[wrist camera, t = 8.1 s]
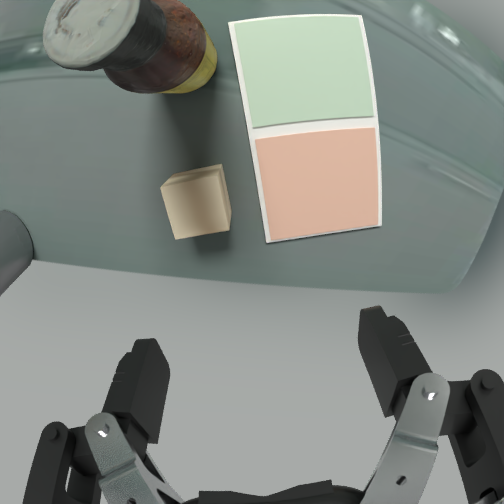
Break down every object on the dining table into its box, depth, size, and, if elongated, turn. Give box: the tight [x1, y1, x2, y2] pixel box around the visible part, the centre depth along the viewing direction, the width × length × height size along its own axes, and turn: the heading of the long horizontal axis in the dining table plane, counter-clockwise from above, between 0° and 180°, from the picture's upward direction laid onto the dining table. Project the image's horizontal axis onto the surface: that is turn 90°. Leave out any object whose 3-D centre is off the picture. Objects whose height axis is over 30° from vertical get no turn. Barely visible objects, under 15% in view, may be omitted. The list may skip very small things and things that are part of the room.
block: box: [160, 164, 232, 240], centre depth 27 cm, size 5×5×5 cm
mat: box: [228, 14, 382, 243], centre depth 26 cm, size 13×23×1 cm, turn 9°
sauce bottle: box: [43, 0, 217, 94], centre depth 15 cm, size 6×6×20 cm
